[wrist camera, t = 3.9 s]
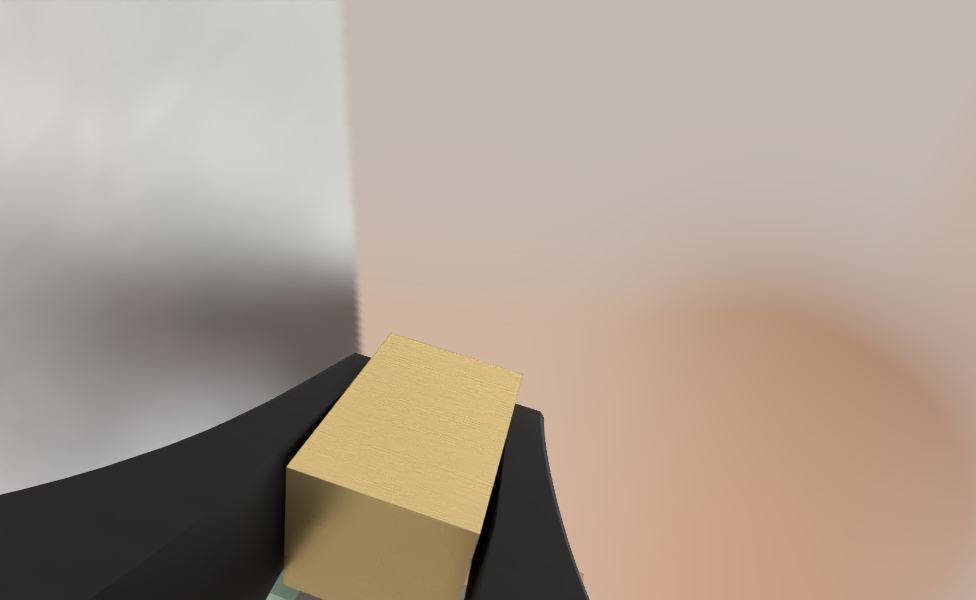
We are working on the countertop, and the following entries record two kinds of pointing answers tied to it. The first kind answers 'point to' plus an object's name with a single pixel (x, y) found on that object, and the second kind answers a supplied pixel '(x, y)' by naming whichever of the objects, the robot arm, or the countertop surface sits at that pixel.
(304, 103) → the countertop surface
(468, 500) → the wooden block
